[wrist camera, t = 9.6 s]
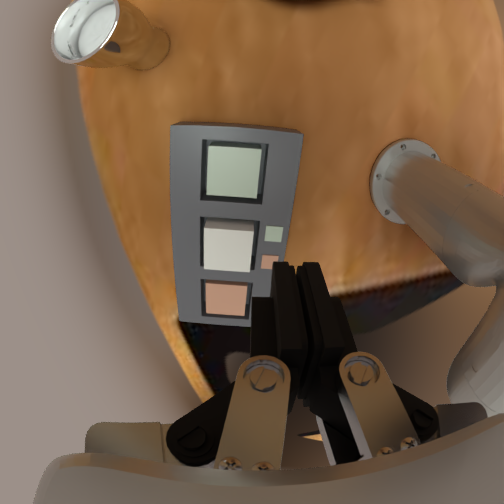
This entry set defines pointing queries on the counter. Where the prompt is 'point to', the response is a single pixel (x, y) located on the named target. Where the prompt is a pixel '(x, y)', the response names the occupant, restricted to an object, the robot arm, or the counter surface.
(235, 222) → the white key
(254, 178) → the sage key
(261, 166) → the keyguard board
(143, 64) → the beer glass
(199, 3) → the counter surface
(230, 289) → the terracotta key
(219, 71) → the counter surface
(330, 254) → the counter surface
